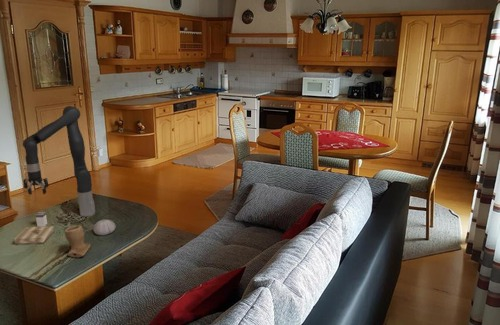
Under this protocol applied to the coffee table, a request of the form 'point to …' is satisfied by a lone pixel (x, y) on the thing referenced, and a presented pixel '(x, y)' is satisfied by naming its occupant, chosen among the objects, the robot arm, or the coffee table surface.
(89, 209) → the robot arm
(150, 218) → the coffee table surface
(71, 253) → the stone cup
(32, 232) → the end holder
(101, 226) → the sea urchin shell
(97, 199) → the coffee table surface
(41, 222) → the connector plug
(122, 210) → the coffee table surface
